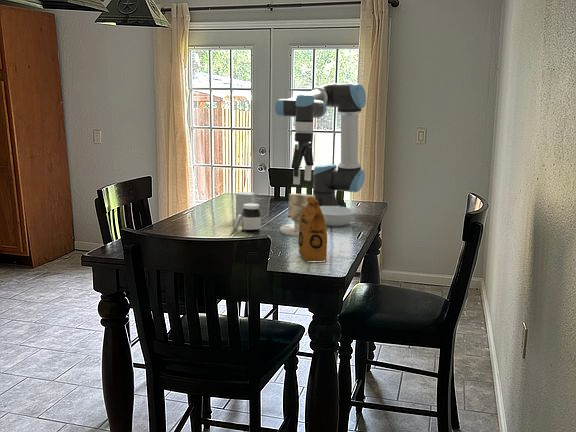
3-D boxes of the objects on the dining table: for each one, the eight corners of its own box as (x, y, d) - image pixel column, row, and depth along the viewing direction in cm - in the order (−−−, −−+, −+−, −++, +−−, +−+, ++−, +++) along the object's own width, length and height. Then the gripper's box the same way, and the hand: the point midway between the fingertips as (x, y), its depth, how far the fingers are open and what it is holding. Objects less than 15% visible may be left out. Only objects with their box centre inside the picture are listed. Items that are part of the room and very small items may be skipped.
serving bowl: (324, 231, 251) (325, 216, 250) (301, 221, 269) (302, 207, 268) (363, 227, 261) (364, 212, 259) (339, 218, 279) (339, 204, 278)
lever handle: (316, 219, 250) (317, 194, 248) (309, 223, 242) (310, 197, 240) (291, 216, 255) (292, 192, 252) (284, 220, 246) (284, 195, 244)
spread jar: (262, 233, 245) (262, 206, 242) (236, 234, 242) (236, 207, 239) (255, 227, 256) (256, 201, 254) (230, 228, 253) (231, 202, 250)
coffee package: (301, 263, 202) (303, 202, 197) (296, 254, 214) (297, 196, 209) (329, 263, 203) (331, 202, 199) (322, 253, 215) (324, 196, 211)
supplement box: (250, 221, 267) (250, 194, 264) (235, 220, 268) (235, 193, 266) (254, 218, 274) (255, 192, 272) (239, 217, 276) (240, 191, 273)
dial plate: (327, 229, 254) (327, 218, 253) (313, 238, 238) (314, 226, 237) (289, 225, 261) (289, 214, 260) (273, 233, 244) (274, 222, 243)
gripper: (305, 130, 253) (304, 178, 257) (284, 132, 230) (283, 185, 235) (321, 131, 250) (319, 179, 255) (301, 133, 228) (300, 186, 232)
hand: (302, 182), depth 245 cm, fingers open, 13 cm apart
